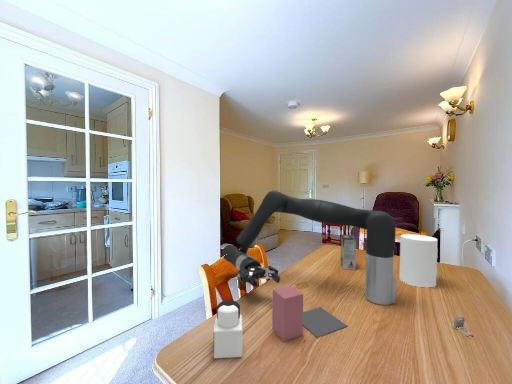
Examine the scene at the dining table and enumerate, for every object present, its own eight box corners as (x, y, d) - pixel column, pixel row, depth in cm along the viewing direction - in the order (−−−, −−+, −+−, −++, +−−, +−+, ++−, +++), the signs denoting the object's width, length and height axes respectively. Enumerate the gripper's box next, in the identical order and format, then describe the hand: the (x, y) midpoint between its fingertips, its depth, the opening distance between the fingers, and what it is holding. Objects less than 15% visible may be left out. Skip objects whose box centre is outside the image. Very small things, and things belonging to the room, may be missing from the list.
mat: (320, 307, 82) (320, 306, 82) (347, 326, 71) (347, 325, 71) (292, 316, 76) (292, 315, 76) (316, 337, 66) (316, 336, 66)
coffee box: (340, 263, 128) (340, 234, 127) (352, 264, 127) (352, 234, 126) (342, 269, 119) (343, 238, 118) (356, 270, 118) (356, 238, 117)
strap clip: (478, 339, 66) (479, 324, 66) (469, 339, 66) (469, 325, 65) (450, 321, 74) (451, 308, 74) (441, 322, 74) (442, 309, 74)
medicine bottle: (216, 340, 64) (215, 297, 64) (241, 338, 65) (241, 296, 65) (213, 359, 57) (213, 311, 57) (242, 357, 58) (242, 310, 58)
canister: (402, 284, 101) (404, 239, 100) (396, 273, 113) (398, 233, 112) (441, 290, 96) (442, 242, 95) (430, 278, 108) (431, 235, 107)
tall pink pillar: (289, 323, 72) (290, 285, 72) (302, 335, 67) (303, 294, 66) (272, 328, 70) (272, 289, 69) (284, 341, 64) (284, 298, 64)
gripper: (231, 259, 89) (248, 274, 75) (263, 254, 96) (285, 268, 81) (231, 278, 90) (248, 297, 75) (263, 272, 96) (285, 289, 81)
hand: (267, 282), depth 78 cm, fingers open, 8 cm apart
